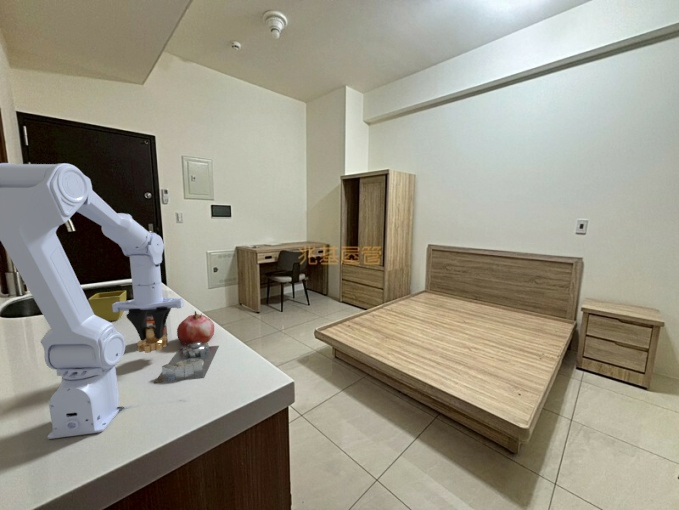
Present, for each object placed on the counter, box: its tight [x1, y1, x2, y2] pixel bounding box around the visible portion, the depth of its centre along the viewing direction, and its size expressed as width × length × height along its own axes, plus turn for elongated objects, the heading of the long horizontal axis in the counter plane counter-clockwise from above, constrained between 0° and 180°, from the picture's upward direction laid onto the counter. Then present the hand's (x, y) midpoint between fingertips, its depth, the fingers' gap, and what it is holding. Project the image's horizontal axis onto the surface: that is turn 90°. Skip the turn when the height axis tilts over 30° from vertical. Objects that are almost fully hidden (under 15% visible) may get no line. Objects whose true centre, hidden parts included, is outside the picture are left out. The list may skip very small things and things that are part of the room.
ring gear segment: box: [161, 361, 203, 379], centre depth 64 cm, size 3×8×2 cm, turn 102°
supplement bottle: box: [147, 309, 168, 337], centre depth 80 cm, size 6×6×11 cm
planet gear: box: [137, 325, 169, 354], centre depth 70 cm, size 6×6×5 cm
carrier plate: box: [153, 345, 220, 384], centre depth 70 cm, size 16×10×1 cm, turn 12°
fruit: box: [176, 310, 215, 346], centre depth 81 cm, size 9×10×10 cm
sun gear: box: [182, 341, 210, 358], centre depth 74 cm, size 6×6×2 cm
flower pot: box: [87, 290, 127, 322], centre depth 101 cm, size 9×9×9 cm
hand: (152, 338), depth 70 cm, fingers closed on planet gear, 3 cm apart
